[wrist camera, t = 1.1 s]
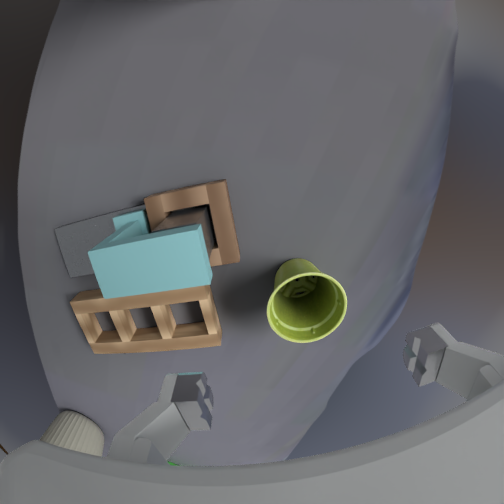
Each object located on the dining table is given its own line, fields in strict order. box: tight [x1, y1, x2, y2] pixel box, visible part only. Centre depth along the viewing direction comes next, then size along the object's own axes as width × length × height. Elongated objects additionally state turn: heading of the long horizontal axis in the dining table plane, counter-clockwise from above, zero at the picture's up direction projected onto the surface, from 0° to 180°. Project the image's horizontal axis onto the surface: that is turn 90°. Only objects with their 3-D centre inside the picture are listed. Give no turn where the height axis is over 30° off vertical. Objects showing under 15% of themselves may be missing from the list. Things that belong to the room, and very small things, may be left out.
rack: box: [70, 285, 222, 354], centre depth 39 cm, size 10×22×4 cm, turn 99°
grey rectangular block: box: [152, 204, 216, 259], centre depth 32 cm, size 5×5×10 cm
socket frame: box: [54, 179, 240, 278], centre depth 35 cm, size 27×10×3 cm, turn 99°
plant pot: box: [267, 259, 347, 343], centre depth 36 cm, size 9×9×9 cm
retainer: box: [88, 209, 213, 299], centre depth 30 cm, size 13×7×12 cm, turn 99°
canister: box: [40, 411, 104, 457], centre depth 43 cm, size 18×18×21 cm
